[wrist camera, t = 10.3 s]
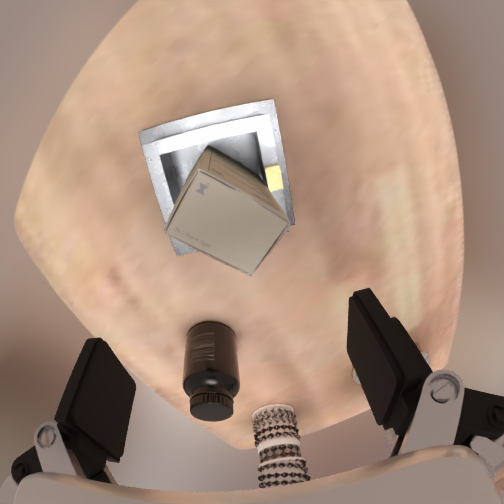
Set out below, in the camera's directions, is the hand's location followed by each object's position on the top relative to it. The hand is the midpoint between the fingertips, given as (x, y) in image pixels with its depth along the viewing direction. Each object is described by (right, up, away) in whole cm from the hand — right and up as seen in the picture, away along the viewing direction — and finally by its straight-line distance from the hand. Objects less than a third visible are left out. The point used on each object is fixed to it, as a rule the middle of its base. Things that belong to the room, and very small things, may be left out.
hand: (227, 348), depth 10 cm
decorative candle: (+5, -29, +39) cm, 49 cm away
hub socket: (-2, +11, +17) cm, 21 cm away
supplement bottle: (-5, -8, +27) cm, 29 cm away
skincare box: (-2, +11, +17) cm, 20 cm away
